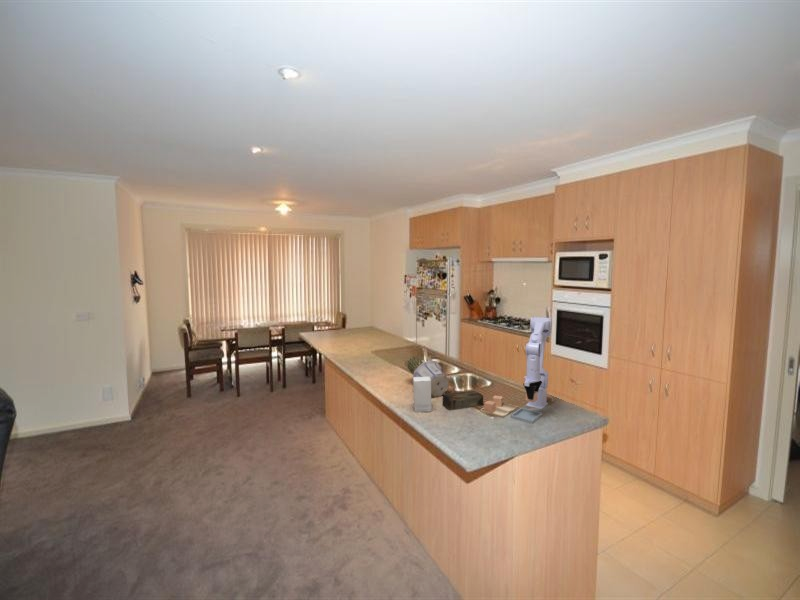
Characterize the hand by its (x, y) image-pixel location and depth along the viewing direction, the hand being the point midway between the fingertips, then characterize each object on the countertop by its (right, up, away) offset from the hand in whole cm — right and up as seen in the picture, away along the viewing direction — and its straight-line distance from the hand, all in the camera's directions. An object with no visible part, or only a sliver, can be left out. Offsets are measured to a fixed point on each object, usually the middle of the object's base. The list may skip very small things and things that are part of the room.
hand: (532, 397), depth 177 cm
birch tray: (-13, -8, +9) cm, 18 cm away
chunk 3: (0, -1, 0) cm, 1 cm away
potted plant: (-46, -6, +38) cm, 60 cm away
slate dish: (-3, -9, 0) cm, 9 cm away
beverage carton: (-29, -8, +14) cm, 34 cm away
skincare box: (-50, -9, +10) cm, 51 cm away
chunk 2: (-12, -7, +14) cm, 20 cm away
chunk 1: (-18, -8, +7) cm, 21 cm away
